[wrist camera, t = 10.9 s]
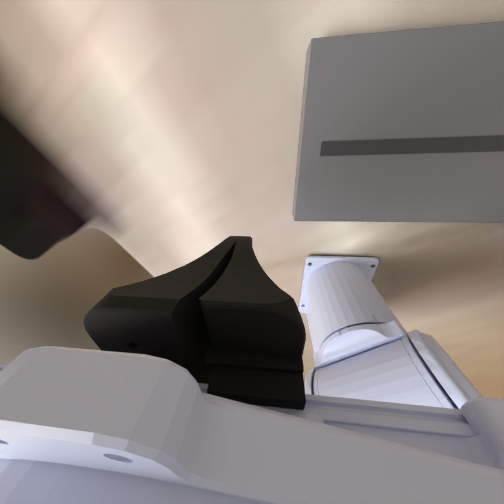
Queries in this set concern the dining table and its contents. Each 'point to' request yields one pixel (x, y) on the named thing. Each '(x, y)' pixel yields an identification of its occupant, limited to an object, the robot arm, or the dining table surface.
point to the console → (403, 127)
